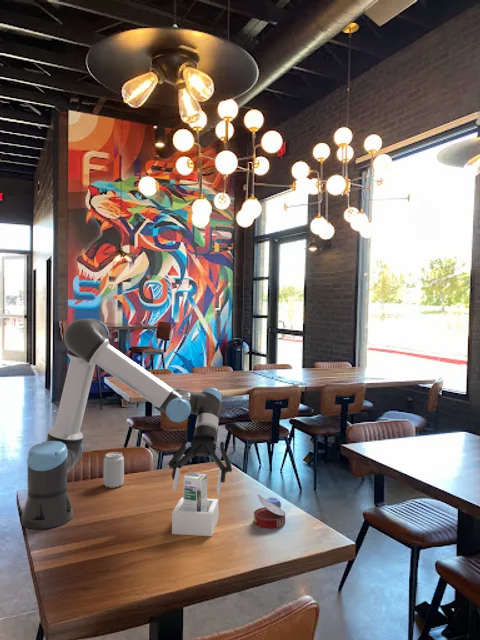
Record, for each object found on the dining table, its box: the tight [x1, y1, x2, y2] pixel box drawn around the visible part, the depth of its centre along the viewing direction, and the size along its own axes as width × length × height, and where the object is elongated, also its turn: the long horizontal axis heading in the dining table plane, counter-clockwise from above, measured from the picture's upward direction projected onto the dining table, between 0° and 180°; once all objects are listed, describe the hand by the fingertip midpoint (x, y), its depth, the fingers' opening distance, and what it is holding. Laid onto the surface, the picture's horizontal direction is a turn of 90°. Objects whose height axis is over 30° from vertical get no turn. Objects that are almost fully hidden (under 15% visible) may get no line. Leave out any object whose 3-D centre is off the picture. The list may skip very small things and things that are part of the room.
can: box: [103, 451, 125, 489], centre depth 187 cm, size 8×8×12 cm
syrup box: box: [183, 471, 208, 512], centre depth 152 cm, size 6×6×14 cm
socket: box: [171, 496, 219, 537], centre depth 151 cm, size 12×12×6 cm
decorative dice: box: [266, 497, 282, 509], centre depth 164 cm, size 4×4×4 cm
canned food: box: [253, 493, 286, 530], centre depth 155 cm, size 11×10×10 cm
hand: (196, 490), depth 150 cm, fingers open, 13 cm apart
